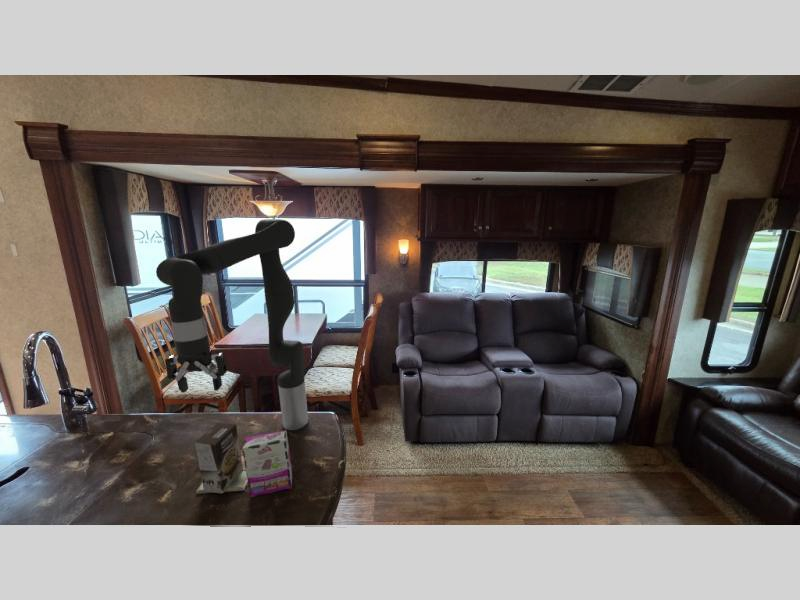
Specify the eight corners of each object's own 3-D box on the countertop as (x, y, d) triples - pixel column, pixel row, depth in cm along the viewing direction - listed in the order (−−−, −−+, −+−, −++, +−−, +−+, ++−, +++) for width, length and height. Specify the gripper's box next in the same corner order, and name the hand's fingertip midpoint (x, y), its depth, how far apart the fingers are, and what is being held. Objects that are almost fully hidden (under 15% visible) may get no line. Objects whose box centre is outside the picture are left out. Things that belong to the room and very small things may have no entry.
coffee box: (223, 494, 87) (214, 445, 83) (203, 491, 88) (193, 442, 84) (244, 469, 96) (237, 423, 92) (225, 466, 97) (217, 421, 93)
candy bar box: (292, 475, 95) (287, 429, 90) (291, 488, 90) (286, 440, 86) (252, 484, 92) (245, 436, 87) (249, 498, 87) (241, 448, 83)
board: (218, 459, 101) (218, 457, 101) (259, 456, 102) (259, 454, 102) (196, 493, 88) (196, 490, 88) (244, 490, 90) (243, 487, 89)
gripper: (225, 329, 86) (233, 381, 90) (170, 331, 85) (181, 384, 89) (212, 339, 79) (222, 396, 83) (152, 341, 78) (165, 399, 82)
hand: (201, 390), depth 86 cm, fingers open, 8 cm apart
